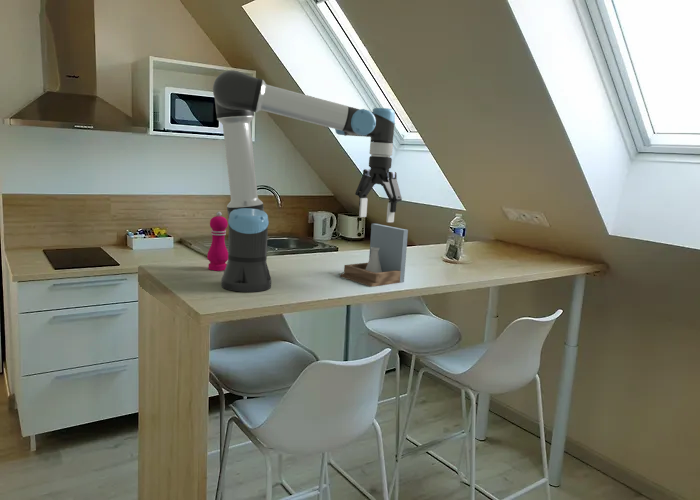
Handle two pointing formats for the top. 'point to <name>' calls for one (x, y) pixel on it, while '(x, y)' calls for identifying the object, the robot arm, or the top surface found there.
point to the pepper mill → (218, 243)
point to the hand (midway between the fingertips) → (376, 219)
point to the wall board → (390, 247)
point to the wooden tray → (370, 275)
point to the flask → (374, 261)
